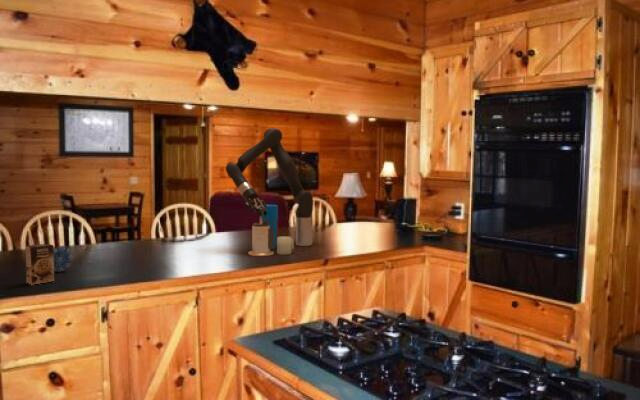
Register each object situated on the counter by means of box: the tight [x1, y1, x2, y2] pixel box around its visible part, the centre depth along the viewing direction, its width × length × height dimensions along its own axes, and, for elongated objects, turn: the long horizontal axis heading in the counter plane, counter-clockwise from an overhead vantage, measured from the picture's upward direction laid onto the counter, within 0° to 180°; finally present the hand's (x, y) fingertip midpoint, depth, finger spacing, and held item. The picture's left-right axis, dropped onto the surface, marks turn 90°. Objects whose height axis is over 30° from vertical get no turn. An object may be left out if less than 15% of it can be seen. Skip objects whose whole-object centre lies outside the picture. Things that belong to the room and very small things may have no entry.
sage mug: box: [276, 235, 295, 255], centre depth 303 cm, size 9×8×9 cm
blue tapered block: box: [261, 204, 279, 249], centre depth 321 cm, size 11×11×25 cm
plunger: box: [258, 208, 265, 224], centre depth 299 cm, size 5×5×22 cm
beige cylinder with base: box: [247, 222, 275, 257], centre depth 299 cm, size 14×14×17 cm
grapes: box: [53, 245, 74, 273], centre depth 249 cm, size 12×7×12 cm, turn 120°
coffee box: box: [25, 243, 55, 286], centre depth 228 cm, size 9×6×16 cm
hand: (263, 214), depth 297 cm, fingers closed on plunger, 3 cm apart
